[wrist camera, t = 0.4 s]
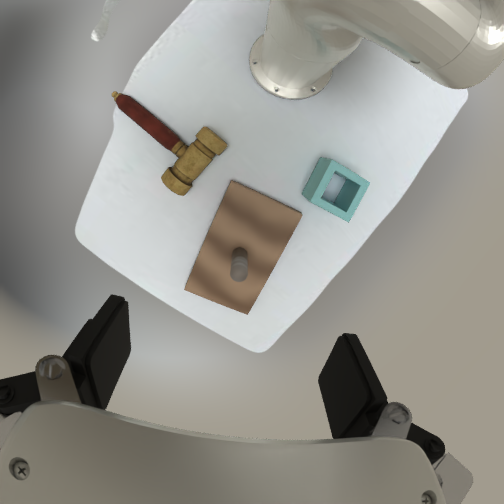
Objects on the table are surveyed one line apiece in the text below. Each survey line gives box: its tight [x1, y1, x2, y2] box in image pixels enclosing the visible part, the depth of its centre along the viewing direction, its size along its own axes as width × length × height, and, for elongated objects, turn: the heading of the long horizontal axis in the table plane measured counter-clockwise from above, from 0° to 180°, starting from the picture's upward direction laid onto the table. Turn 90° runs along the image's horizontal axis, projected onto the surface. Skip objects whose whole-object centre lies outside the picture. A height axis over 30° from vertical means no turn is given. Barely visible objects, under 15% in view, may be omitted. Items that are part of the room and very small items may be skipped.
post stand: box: [184, 180, 302, 315], centre depth 42 cm, size 20×12×8 cm, turn 155°
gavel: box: [112, 92, 227, 196], centre depth 36 cm, size 21×5×10 cm
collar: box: [302, 157, 370, 222], centre depth 39 cm, size 7×7×6 cm
